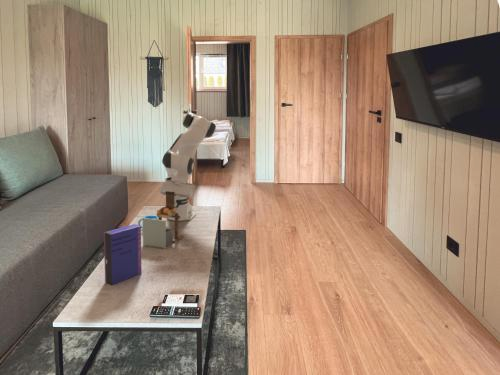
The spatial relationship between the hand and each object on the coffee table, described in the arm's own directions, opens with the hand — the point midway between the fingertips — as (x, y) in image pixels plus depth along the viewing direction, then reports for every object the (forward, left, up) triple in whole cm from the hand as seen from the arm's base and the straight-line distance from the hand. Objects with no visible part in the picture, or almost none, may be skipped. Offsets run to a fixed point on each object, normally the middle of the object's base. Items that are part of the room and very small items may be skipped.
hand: (172, 201), depth 289 cm
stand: (+5, 0, -22) cm, 22 cm away
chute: (+6, 0, -8) cm, 10 cm away
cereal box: (+66, +9, -22) cm, 70 cm away
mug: (-6, -20, -22) cm, 31 cm away
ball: (+7, 0, -4) cm, 8 cm away
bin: (+16, 0, -22) cm, 27 cm away
